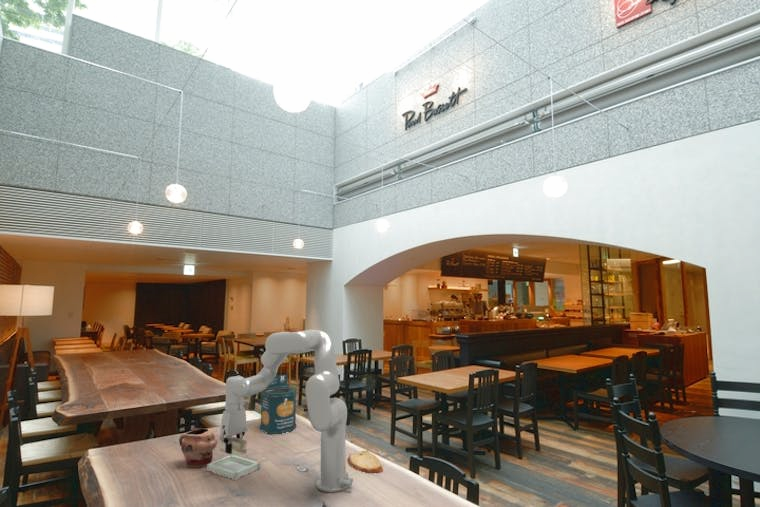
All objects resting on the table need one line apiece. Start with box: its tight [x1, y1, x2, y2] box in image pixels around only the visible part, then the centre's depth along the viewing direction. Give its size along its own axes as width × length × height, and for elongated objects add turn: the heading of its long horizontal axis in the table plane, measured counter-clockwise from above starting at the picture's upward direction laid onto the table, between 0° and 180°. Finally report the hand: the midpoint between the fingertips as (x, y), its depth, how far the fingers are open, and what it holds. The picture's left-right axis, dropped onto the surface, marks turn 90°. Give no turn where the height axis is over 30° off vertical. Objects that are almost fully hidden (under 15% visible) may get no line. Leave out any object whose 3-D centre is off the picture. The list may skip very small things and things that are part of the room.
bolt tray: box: [206, 454, 261, 479], centre depth 165 cm, size 18×12×2 cm
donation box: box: [259, 374, 297, 435], centre depth 219 cm, size 16×16×28 cm
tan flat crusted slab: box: [347, 449, 384, 475], centre depth 168 cm, size 18×18×4 cm
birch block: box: [219, 436, 248, 457], centre depth 166 cm, size 4×12×5 cm, turn 58°
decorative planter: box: [178, 428, 218, 468], centre depth 173 cm, size 20×12×14 cm, turn 76°
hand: (233, 450), depth 166 cm, fingers closed on birch block, 4 cm apart
